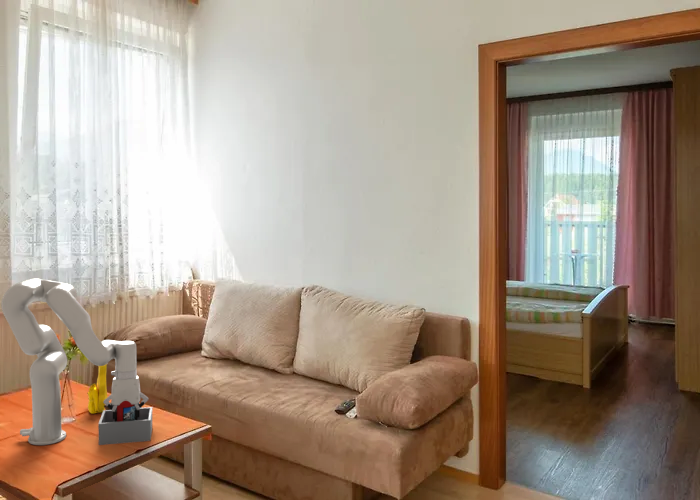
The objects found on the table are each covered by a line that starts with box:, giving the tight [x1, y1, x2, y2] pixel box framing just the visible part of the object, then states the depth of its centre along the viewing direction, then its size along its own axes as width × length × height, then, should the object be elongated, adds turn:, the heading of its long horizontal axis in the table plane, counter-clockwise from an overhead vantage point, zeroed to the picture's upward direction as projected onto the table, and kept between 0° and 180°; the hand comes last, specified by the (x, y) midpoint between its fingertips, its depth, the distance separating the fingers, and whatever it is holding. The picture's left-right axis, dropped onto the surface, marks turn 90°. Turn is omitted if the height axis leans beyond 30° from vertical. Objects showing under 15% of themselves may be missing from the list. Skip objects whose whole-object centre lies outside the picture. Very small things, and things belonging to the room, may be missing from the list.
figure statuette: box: [86, 363, 108, 414], centre depth 247 cm, size 18×8×22 cm, turn 33°
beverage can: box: [117, 399, 136, 422], centre depth 223 cm, size 7×7×12 cm
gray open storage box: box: [97, 406, 153, 446], centre depth 224 cm, size 18×14×8 cm
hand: (126, 419), depth 223 cm, fingers closed on beverage can, 6 cm apart
